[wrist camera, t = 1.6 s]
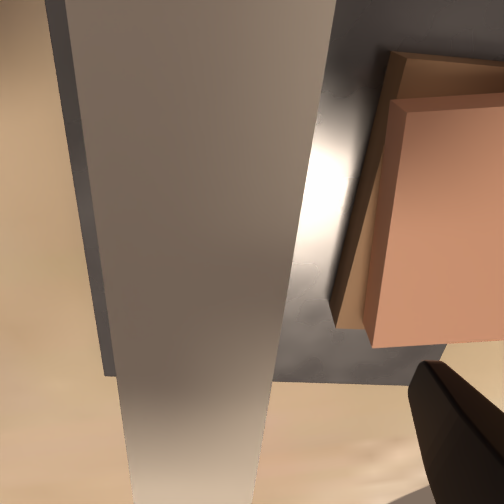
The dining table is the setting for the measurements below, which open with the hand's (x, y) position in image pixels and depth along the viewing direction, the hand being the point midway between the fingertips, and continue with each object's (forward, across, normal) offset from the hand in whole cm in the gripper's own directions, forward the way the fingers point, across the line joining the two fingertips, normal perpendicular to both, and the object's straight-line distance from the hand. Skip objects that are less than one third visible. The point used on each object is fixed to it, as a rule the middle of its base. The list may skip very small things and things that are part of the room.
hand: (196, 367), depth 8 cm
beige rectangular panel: (+8, 0, 0) cm, 8 cm away
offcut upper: (+7, -8, 0) cm, 11 cm away
